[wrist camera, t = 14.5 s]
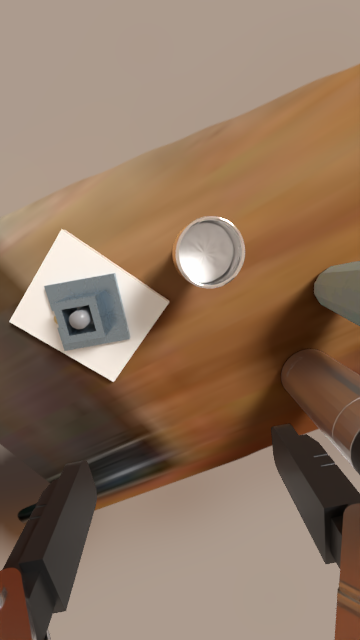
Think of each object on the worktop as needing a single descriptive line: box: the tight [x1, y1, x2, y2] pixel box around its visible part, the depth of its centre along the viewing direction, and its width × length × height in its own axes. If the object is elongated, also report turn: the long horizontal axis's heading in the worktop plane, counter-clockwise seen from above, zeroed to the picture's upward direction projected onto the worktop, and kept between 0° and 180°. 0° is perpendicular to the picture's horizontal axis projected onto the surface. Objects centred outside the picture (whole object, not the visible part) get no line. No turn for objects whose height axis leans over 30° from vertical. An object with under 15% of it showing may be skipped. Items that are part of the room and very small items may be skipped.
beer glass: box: [172, 216, 245, 289], centre depth 31 cm, size 7×7×15 cm
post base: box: [9, 230, 169, 382], centre depth 36 cm, size 18×16×6 cm
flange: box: [44, 273, 130, 351], centre depth 35 cm, size 10×10×5 cm
